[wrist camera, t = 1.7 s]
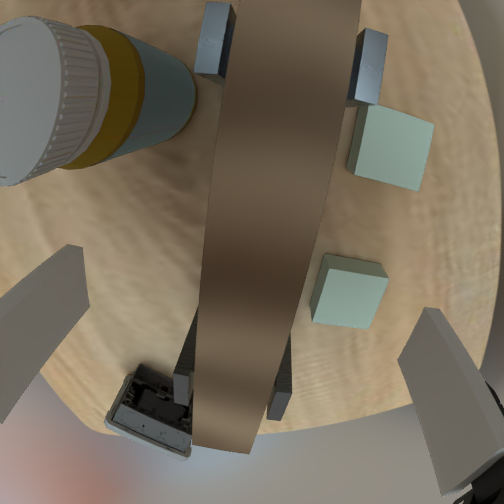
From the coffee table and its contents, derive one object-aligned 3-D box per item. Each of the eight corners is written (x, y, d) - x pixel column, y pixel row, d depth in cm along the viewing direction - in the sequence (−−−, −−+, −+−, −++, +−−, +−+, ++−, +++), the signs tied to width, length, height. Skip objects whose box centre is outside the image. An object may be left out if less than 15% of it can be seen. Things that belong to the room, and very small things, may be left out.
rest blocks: (359, 103, 19) (369, 102, 17) (419, 122, 19) (434, 124, 17) (309, 304, 27) (312, 322, 24) (362, 312, 27) (368, 329, 24)
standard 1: (203, 266, 26) (162, 359, 16) (298, 282, 26) (307, 383, 16) (199, 313, 28) (165, 408, 18) (285, 328, 28) (286, 429, 18)
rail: (262, -33, 10) (256, -74, 6) (346, -18, 10) (366, -53, 6) (202, 402, 22) (192, 444, 18) (253, 411, 22) (249, 454, 18)
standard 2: (233, 40, 18) (196, -19, 8) (346, 60, 18) (404, 19, 8) (223, 104, 20) (174, 96, 10) (334, 124, 20) (386, 134, 10)
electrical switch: (125, 376, 33) (99, 432, 25) (137, 349, 32) (107, 409, 23) (194, 408, 35) (181, 468, 26) (212, 385, 33) (200, 450, 24)
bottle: (218, 84, 20) (115, 40, 6) (164, 160, 22) (28, 236, 9) (146, 40, 18) (0, -11, 5) (99, 115, 21) (-57, 146, 7)
